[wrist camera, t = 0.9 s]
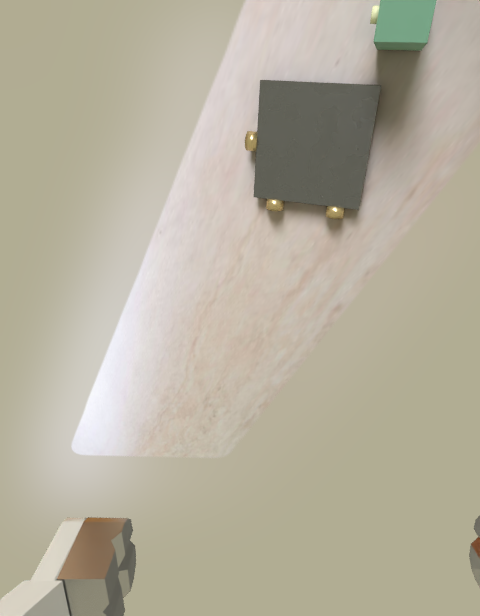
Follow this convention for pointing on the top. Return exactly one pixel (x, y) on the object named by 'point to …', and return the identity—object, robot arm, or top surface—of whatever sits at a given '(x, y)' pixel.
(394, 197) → the top surface
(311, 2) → the top surface
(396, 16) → the block
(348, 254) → the top surface
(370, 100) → the level base plate
